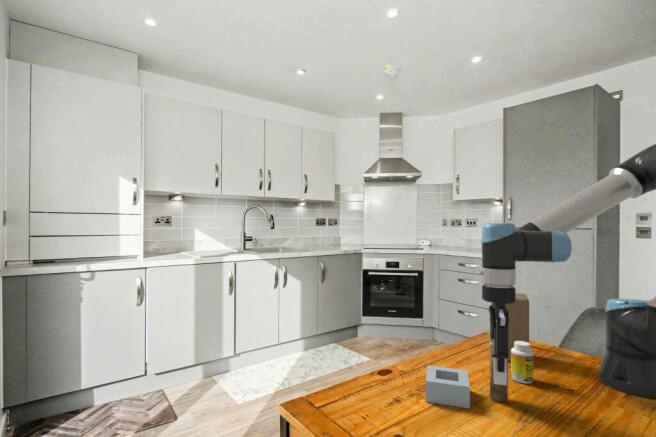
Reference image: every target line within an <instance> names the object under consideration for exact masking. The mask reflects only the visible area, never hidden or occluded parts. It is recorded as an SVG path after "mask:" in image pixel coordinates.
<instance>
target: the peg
mask: <svg viewBox="0 0 656 437" xmlns="http://www.w3.org/2000/svg"><path fill="white" fill-rule="evenodd" d="M492 354H495V340H494V339H491V340H490V339H489V398H490V399H491V401H494V402H495V403H499V404H503V403H504V404H505V403H507V402H508V401H509V388H508V387H509V370H508V369H509V367H508V366H509V365H508V364H509V361H508V359H507V385H499V384H494V357H492Z"/></svg>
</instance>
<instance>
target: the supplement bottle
mask: <svg viewBox="0 0 656 437" xmlns="http://www.w3.org/2000/svg"><path fill="white" fill-rule="evenodd" d="M534 356H535V355H534V352H533V350H532V349H531V343H530V342H529V343H528V342H524V341H515V342H514V348H512V349H511V362H510V378H511V379H512V381H513V380H514V381H515V382H517V383H519V384H529V385H530V384H532V383H533V382H534V378H535V377H534V376H535V375H534V374H535V373H534V372H535V371H534V370H535V369H534V368H535V366H534V359H535V357H534Z"/></svg>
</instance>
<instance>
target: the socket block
mask: <svg viewBox="0 0 656 437" xmlns="http://www.w3.org/2000/svg"><path fill="white" fill-rule="evenodd" d="M470 385H471V384H470V378H469V373H468V370H467V369H459V368H452V367H444V366H436V365H430V364H429V365H427V366H426V375H425V403H433V404H438V405H445V406H452V407H458V408H463V409H464V408H466V409H470V408H471V386H470Z"/></svg>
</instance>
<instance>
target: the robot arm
mask: <svg viewBox="0 0 656 437" xmlns="http://www.w3.org/2000/svg"><path fill="white" fill-rule="evenodd" d="M608 172H609V173H608V175H607V176H606V177H604V178H602V179H601V180H599V181H597V182H596V183H593V184H592V185H590V186H589V187H587V188H585V189H584V190H582V191H580V192H578V193H576V194H575V195H572V196H571V197H570V198H568V199H566V200H565V201H563V202H561V203H559V204H558V205H556V206H554V207H553V208H551V209H549V210H547V211H546V212H545V213H544V212H543V213H542V214H541V215H539V216H538V217H536V218H534V219H532V220H530V221H529V222H527V223H526V224H523V225H522V226H520V227H518V228H516V224H515V223H513V222H497V223H496V222H494V223H493V222H487V223H485V224H484V225H483V226H482V230H481V231H482V232H481V260H482V261H481V262H482V263H481V266H482V267H481V269H482V270H479V275H480V276H481V280H482V281H481V282H482V283H483V285H481V299H482V300H483V301H485V302H488V303H491V304H490V305H489V307H488V313H489V332H490V333H489V338H490V339H489V341H490V340H491V339H494V340H495V354H492V357H494V384H499V385H507V359H508V357H509V355H508V326H509V318H508V317H509V312H508V310H507V309H506V306H505V305H506V304H508V303H509V304H511V303H514V302H515V301H516V293H517V292H516V290H517V289H516V288H515V285H516V284H517V282H516V281H517V280H516V278H517V275H516V274H517V269H516V267H517V266H516V262H522V263H523V262H532V263H533V262H534V263H537V262H538V263H540V262H541V263H543V262H544V263H552V264H553V263H563V262H566V261H568V260H569V259H570V258H571V254H572V252H573V251H572V250H573V248H572V246H573V244H572V240H571V238H570V236H569V234H568V233H570V232H571V231H573V230H576V229H577V228H578V227H580V226H582V225H584V224H585V223H587V222H589V221H590V220H593V219H594V218H596V217H598V216H599V215H601V214H603V213H605V212H606V211H608V210H610V209H612V208H614V207H615V206H617V205H619V204H620V203H622V202H624V201H626V200H628V199H629V198H630V199H637V198H639V197H641V196H643V195H645V194H647V193H650V192H652V191H656V143H655V144H652V145H650V146H648V147H646V148H644V149H643V150H641V151H639V152H638V153H636V154H634V155H633V156H631V157H629V158H628V159H626V160H624V161H622V162H621V163H620V164H618V165H617V166H615V167H613V168H612V169H611V170H609V171H608ZM604 312H605V340H606V341H605V345H606V346H605V348H606V349H605V353H604V356H603V358H602V360H601V363H600V365H599V367H598V374H597V375H598V376H597V377H598V380H599V381H600V382H601V383H602V384H604V385H606V386H608V387H609V388H612V389H614V390H617V391H620V392H623V393H626V394H629V395H633V396H638V397H642V398H648V399H656V296H654V297H653V298H651V299H649V300H648V299H645V300H644V299H634V298H632V299H631V298H628V299H627V298H610V299H608V300H607V302H606V305H605V311H604Z"/></svg>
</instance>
